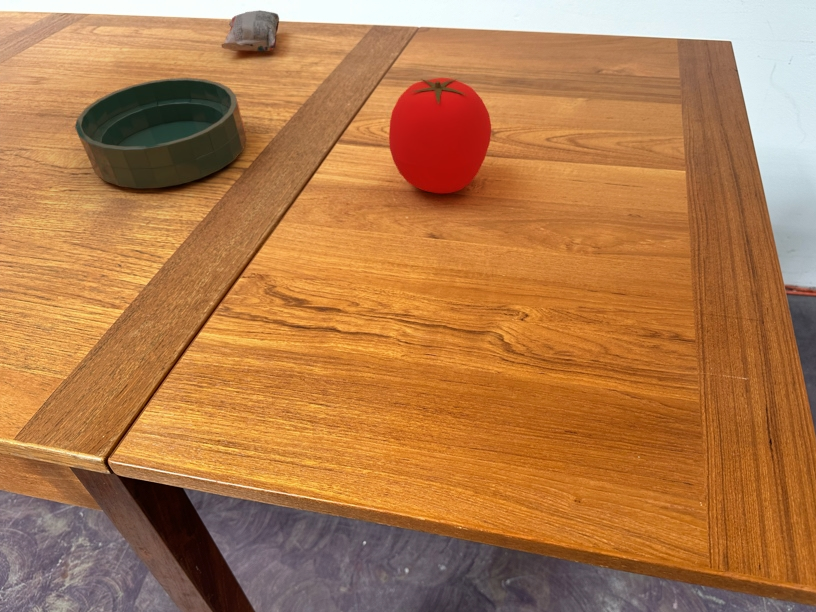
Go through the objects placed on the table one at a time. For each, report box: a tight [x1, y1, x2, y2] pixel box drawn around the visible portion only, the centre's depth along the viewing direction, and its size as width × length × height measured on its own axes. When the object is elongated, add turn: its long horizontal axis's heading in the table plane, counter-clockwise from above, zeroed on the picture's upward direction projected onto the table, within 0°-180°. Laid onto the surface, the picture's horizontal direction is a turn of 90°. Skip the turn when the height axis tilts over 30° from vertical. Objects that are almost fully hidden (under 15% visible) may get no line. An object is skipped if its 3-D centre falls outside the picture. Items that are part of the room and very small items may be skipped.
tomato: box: [388, 77, 492, 194], centre depth 76 cm, size 12×12×13 cm
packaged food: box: [220, 10, 280, 52], centre depth 112 cm, size 9×12×5 cm
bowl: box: [74, 77, 247, 189], centre depth 85 cm, size 19×19×6 cm
